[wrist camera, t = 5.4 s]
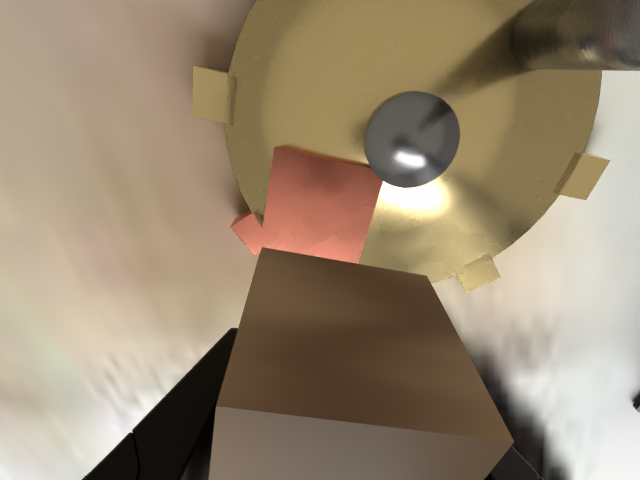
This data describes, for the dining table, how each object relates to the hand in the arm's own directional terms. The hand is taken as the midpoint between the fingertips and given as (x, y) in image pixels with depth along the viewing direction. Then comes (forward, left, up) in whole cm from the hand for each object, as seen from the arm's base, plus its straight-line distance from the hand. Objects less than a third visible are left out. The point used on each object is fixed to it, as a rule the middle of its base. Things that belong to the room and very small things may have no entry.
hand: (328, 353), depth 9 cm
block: (0, 0, -1) cm, 1 cm away
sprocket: (-3, -4, -12) cm, 13 cm away
